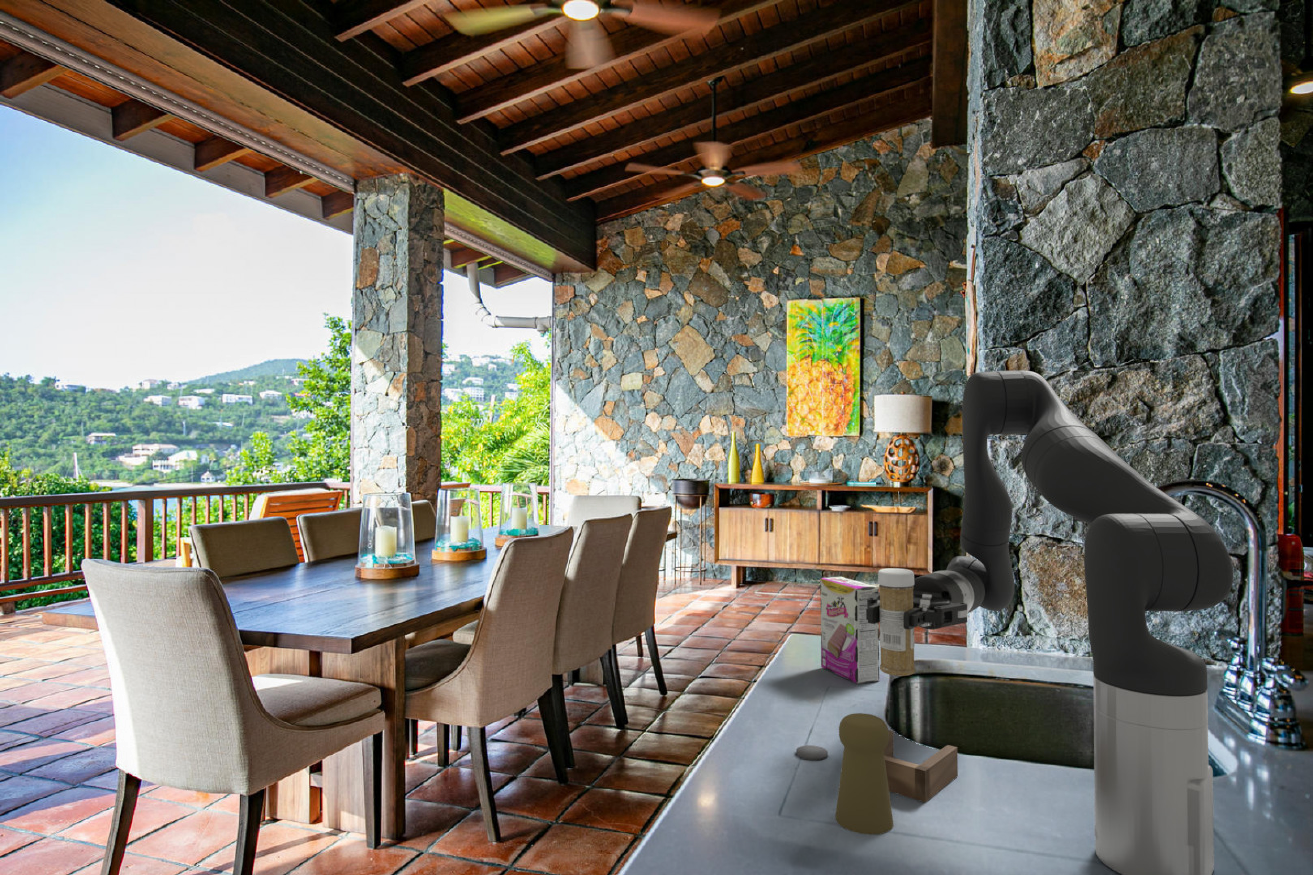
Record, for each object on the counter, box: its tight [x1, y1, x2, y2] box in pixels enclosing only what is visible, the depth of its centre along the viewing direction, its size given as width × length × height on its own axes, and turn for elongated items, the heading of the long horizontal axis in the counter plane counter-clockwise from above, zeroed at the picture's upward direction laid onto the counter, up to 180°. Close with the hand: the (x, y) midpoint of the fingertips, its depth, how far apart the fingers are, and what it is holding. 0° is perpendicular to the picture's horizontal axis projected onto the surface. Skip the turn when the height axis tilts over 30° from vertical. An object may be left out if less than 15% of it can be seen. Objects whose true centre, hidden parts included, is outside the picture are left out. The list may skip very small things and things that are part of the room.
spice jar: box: [877, 567, 916, 677], centre depth 103 cm, size 5×5×14 cm
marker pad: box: [795, 744, 829, 761], centre depth 101 cm, size 4×4×1 cm
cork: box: [834, 712, 895, 836], centre depth 83 cm, size 6×6×11 cm
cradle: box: [884, 729, 959, 803], centre depth 94 cm, size 9×9×4 cm
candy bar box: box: [819, 576, 880, 685], centre depth 137 cm, size 11×5×16 cm, turn 22°
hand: (888, 618), depth 101 cm, fingers closed on spice jar, 4 cm apart
